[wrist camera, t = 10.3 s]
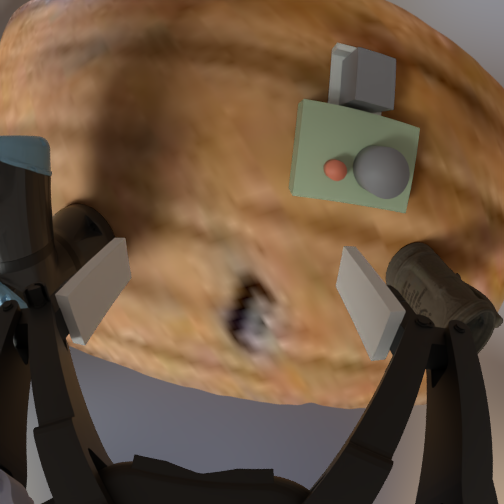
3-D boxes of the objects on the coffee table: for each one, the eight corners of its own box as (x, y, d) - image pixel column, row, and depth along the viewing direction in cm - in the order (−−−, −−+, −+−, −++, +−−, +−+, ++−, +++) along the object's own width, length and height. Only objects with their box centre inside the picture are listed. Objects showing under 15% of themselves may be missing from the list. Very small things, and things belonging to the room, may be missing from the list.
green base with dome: (288, 188, 37) (296, 203, 29) (303, 43, 28) (315, 19, 20) (390, 204, 37) (419, 222, 29) (406, 71, 28) (438, 60, 20)
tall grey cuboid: (338, 105, 32) (355, 99, 25) (342, 60, 29) (358, 46, 22) (371, 113, 32) (393, 109, 25) (375, 69, 29) (396, 58, 22)
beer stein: (379, 303, 44) (434, 384, 26) (381, 248, 40) (455, 322, 22) (444, 282, 43) (505, 343, 25) (449, 232, 39) (526, 284, 21)
